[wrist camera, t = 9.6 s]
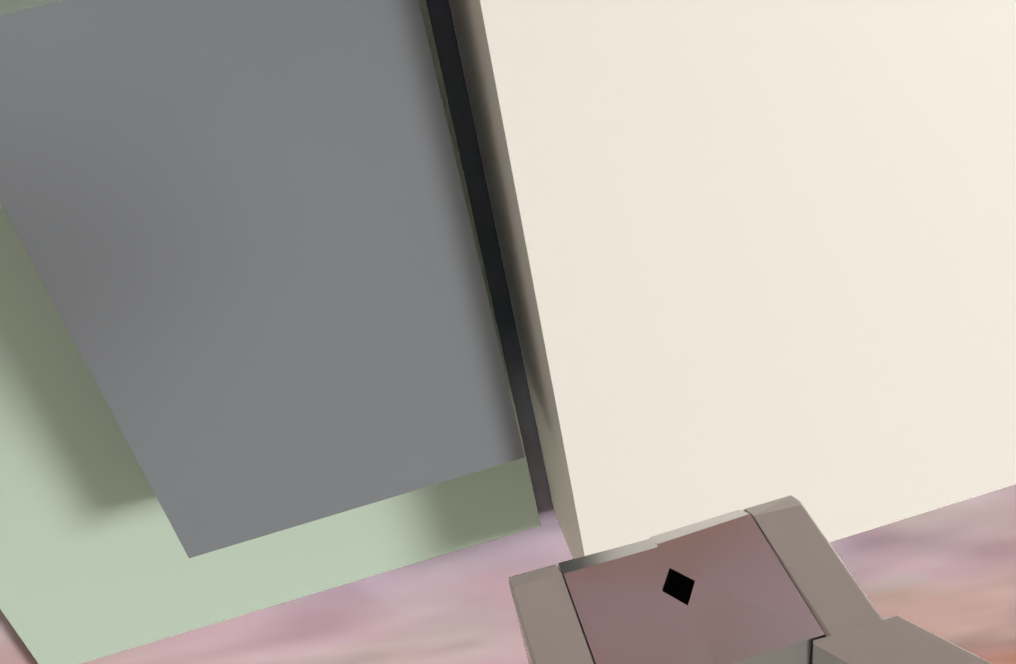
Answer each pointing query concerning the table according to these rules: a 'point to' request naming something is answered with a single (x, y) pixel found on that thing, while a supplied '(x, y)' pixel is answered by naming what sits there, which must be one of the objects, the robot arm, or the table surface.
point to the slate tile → (256, 249)
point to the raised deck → (755, 251)
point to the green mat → (142, 521)
